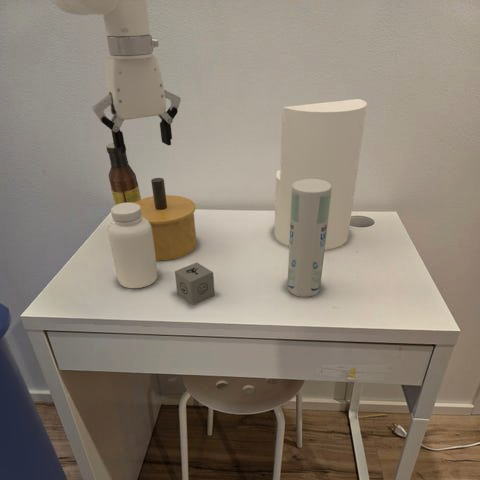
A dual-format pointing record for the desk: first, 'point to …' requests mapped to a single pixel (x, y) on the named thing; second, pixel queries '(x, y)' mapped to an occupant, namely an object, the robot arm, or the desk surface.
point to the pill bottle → (132, 246)
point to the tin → (174, 238)
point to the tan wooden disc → (164, 205)
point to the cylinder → (320, 161)
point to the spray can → (307, 235)
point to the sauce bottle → (122, 177)
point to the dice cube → (194, 283)
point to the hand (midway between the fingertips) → (144, 147)
